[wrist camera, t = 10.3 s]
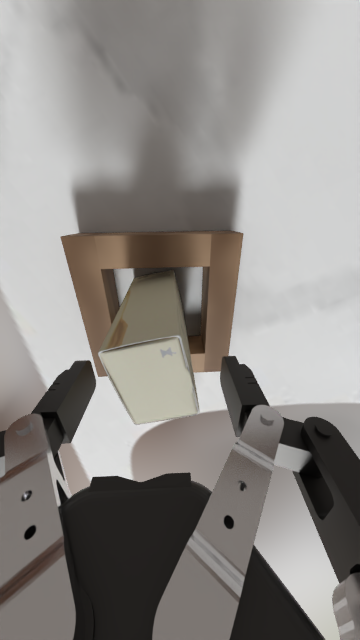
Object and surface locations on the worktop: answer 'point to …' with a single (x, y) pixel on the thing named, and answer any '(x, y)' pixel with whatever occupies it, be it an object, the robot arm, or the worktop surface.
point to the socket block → (157, 252)
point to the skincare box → (151, 352)
